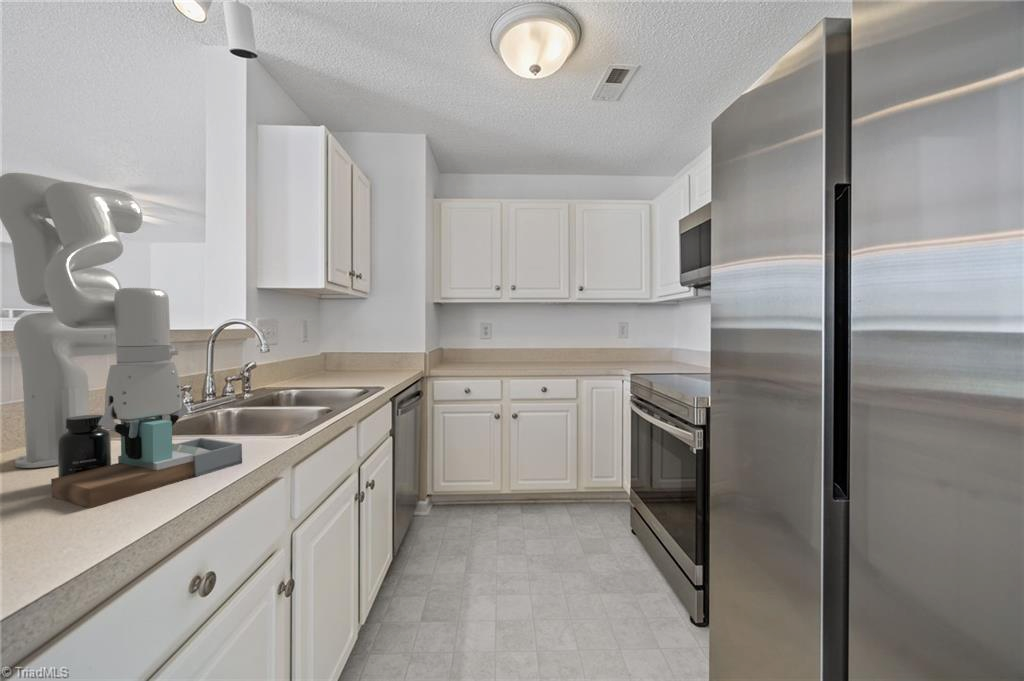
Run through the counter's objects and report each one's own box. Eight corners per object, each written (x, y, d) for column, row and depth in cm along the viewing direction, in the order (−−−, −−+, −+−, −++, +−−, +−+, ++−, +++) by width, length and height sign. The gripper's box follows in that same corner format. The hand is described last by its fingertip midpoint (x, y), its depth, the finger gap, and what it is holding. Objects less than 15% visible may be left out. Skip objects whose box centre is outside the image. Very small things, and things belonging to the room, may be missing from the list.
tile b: (175, 457, 82) (182, 444, 83) (200, 463, 86) (206, 450, 87) (192, 460, 80) (198, 447, 81) (216, 466, 84) (222, 453, 85)
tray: (154, 468, 85) (154, 448, 85) (202, 455, 93) (201, 437, 93) (195, 476, 80) (195, 455, 80) (242, 462, 88) (241, 443, 88)
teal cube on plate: (118, 462, 79) (117, 419, 79) (155, 454, 84) (155, 414, 84) (156, 470, 74) (156, 425, 74) (193, 460, 80) (193, 418, 80)
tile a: (158, 454, 84) (164, 442, 85) (182, 459, 88) (188, 448, 89) (173, 457, 82) (179, 444, 83) (198, 462, 86) (203, 450, 87)
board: (51, 496, 71) (51, 479, 71) (156, 468, 85) (155, 454, 84) (90, 508, 66) (89, 489, 66) (194, 476, 80) (193, 460, 80)
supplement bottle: (78, 489, 74) (75, 421, 73) (48, 487, 75) (45, 420, 75) (121, 476, 80) (119, 413, 80) (93, 474, 82) (91, 412, 81)
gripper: (182, 353, 87) (185, 442, 87) (73, 358, 72) (77, 466, 72) (205, 353, 84) (208, 445, 84) (96, 359, 69) (100, 471, 69)
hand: (147, 454), depth 78 cm, fingers open, 3 cm apart
